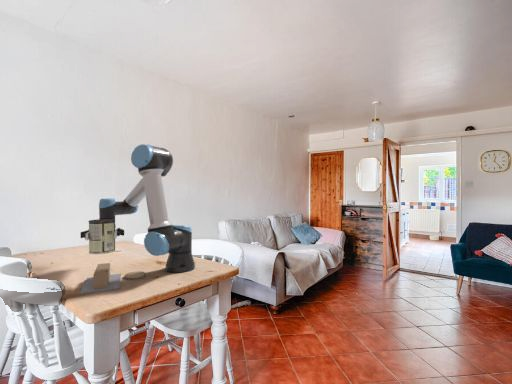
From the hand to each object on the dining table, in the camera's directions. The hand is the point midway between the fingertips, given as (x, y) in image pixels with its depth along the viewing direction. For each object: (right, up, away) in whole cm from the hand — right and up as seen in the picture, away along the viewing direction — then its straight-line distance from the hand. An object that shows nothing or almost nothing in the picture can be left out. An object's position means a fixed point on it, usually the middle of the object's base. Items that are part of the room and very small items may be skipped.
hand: (101, 236), depth 115 cm
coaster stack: (+8, -22, +14) cm, 28 cm away
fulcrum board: (-2, -22, +4) cm, 22 cm away
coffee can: (-2, -8, +4) cm, 9 cm away
